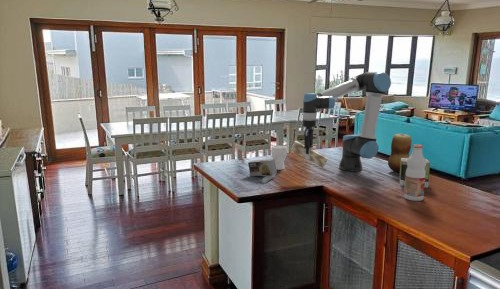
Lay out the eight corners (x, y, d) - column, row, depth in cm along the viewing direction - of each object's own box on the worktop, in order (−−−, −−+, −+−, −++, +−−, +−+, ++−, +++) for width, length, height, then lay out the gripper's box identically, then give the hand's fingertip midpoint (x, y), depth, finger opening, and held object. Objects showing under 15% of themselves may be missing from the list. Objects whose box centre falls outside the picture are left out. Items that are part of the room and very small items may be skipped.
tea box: (426, 183, 223) (428, 158, 220) (428, 188, 213) (430, 162, 210) (398, 181, 227) (400, 157, 225) (399, 185, 218) (401, 160, 215)
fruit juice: (401, 194, 202) (405, 143, 197) (420, 195, 201) (424, 143, 195) (406, 200, 193) (410, 146, 188) (425, 201, 191) (430, 147, 186)
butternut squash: (403, 175, 239) (406, 136, 234) (383, 171, 249) (386, 134, 244) (413, 171, 248) (416, 134, 243) (394, 168, 258) (396, 131, 253)
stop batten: (276, 174, 242) (276, 171, 241) (265, 183, 224) (265, 179, 223) (273, 174, 242) (273, 171, 242) (262, 182, 224) (262, 179, 224)
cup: (285, 170, 251) (286, 148, 249) (270, 170, 253) (270, 148, 251) (287, 166, 262) (287, 145, 259) (272, 166, 264) (272, 145, 261)
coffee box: (274, 158, 234) (252, 160, 243) (269, 160, 229) (247, 162, 237) (277, 173, 235) (255, 173, 244) (272, 175, 230) (249, 176, 238)
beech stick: (323, 166, 226) (328, 158, 224) (322, 167, 223) (327, 159, 221) (291, 148, 232) (296, 140, 230) (290, 149, 229) (294, 141, 227)
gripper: (306, 117, 232) (305, 155, 236) (299, 120, 217) (298, 160, 222) (318, 118, 229) (317, 156, 233) (312, 121, 214) (311, 162, 219)
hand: (308, 158), depth 227 cm, fingers closed on beech stick, 3 cm apart
